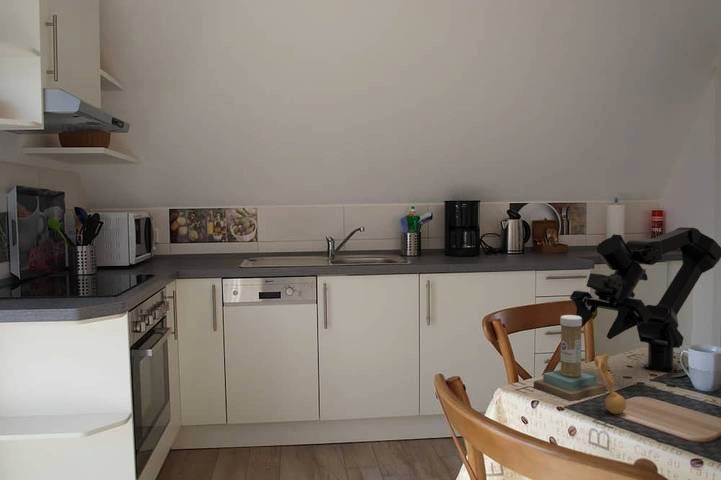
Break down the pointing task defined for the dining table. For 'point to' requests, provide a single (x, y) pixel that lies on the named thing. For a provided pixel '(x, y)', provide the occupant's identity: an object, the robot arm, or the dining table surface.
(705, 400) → the dining table surface
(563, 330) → the sprinkles bottle
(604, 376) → the figurine
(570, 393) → the tower base
